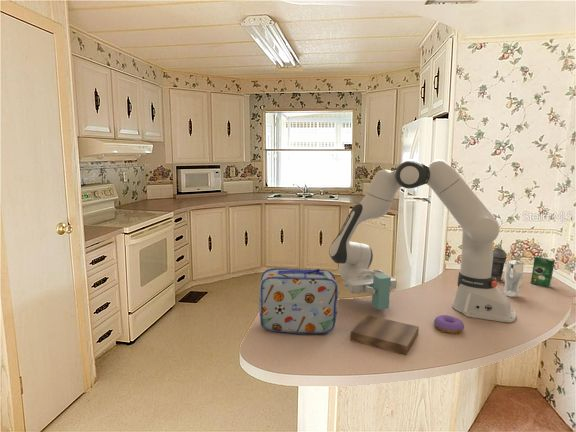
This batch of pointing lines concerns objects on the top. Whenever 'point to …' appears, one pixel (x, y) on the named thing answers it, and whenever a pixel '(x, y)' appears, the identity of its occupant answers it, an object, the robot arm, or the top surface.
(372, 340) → the walnut riser
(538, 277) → the coffee box
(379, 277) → the teal block
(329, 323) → the lunch box
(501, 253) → the beverage cup
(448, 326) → the donut
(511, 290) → the beer glass
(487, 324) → the top surface
